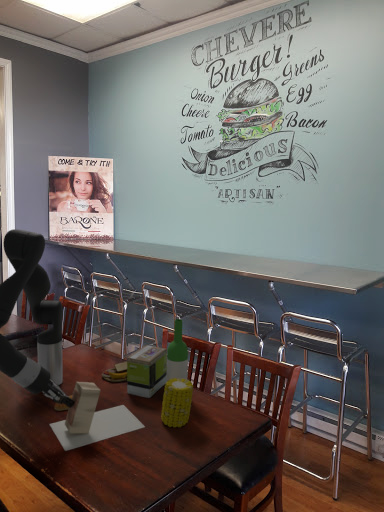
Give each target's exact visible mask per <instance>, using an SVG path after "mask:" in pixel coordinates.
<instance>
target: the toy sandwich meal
mask: <svg viewBox="0 0 384 512" xmlns="http://www.w3.org/2000/svg"><path fill="white" fill-rule="evenodd" d="M101 376H102V378H103V379H104V380H105V381H108V382H112V383H115V382H116V383H119V382H120V383H121V382H125V381H127V361H123V362H120V363H116V364H114V367H113V368H108V369H106V370H104V371H103V372H102V373H101Z"/></svg>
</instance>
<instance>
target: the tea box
mask: <svg viewBox="0 0 384 512" xmlns="http://www.w3.org/2000/svg"><path fill="white" fill-rule="evenodd" d="M167 349H168V348H164V347H157V346H151V345H147V344H145V345H143V346H142V347H141V348H139V349H138V350H136V351H135V352H133V353H131V354H130V355H128V356H127V357H126V362H127V380H126V390H127V391H126V393H127V394H130V395H133V396H138V397H143V398H147V399H150V398H151V397H152V396H154V395H155V394H156V393H157V391H159V390H160V389H161V388H162V387H163V386H165V384H166V377H167Z"/></svg>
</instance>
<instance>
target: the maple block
mask: <svg viewBox="0 0 384 512" xmlns="http://www.w3.org/2000/svg"><path fill="white" fill-rule="evenodd" d="M101 391H102V390H101V389H100V387H98V386H97V385H96V384H95V382H87V381H75V386H74V389H73V393H72V395H73V396H72V400H73V401H74V402H75V403H74V405H73V406H72V407H71V408H69V410H67V414H66V417H65V420H66V421H65V426H66V427H67V429H68V431H69V432H70V433H89V430H90V427H91V423H92V419H93V416H94V412H96V409H97V408H96V407H97V405H98V402H99V397H100V395H101Z"/></svg>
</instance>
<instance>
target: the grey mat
mask: <svg viewBox="0 0 384 512" xmlns="http://www.w3.org/2000/svg"><path fill="white" fill-rule="evenodd" d="M65 421H66V419H64V420H60V421H56V422H53V423H49V427H50V428H51V430H52V431H53V433H54V435H55V436H56V438H57V439H58V441H59V443H60V445H61V447H62V448H63V450H64V451H65V452H67V451H70V450H74V449H76V448H77V449H78V448H80V447H83V446H87V445H91V444H93V443H97V442H101V441H103V440H107V439H110V438H114V437H117V436H120V435H123V434H127V433H130V432H134V431H137V430H140V429H144V428H146V426H145V425H144V424H143V423H142V422H141V421H140V420H139V419H138V418H137V417H136V416H135V415H134V414H133V413H132V412H131V411H130V410H129V409H128V408H127V407H126V406H125V405H124V404H122V405H117V406H114V407H110V408H106V409H101V410H97V411H95V412H94V416H93V419H92V423H91V427H90V430H89V433H70V432H69V431H68V429H67V427H66V426H65Z"/></svg>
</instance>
